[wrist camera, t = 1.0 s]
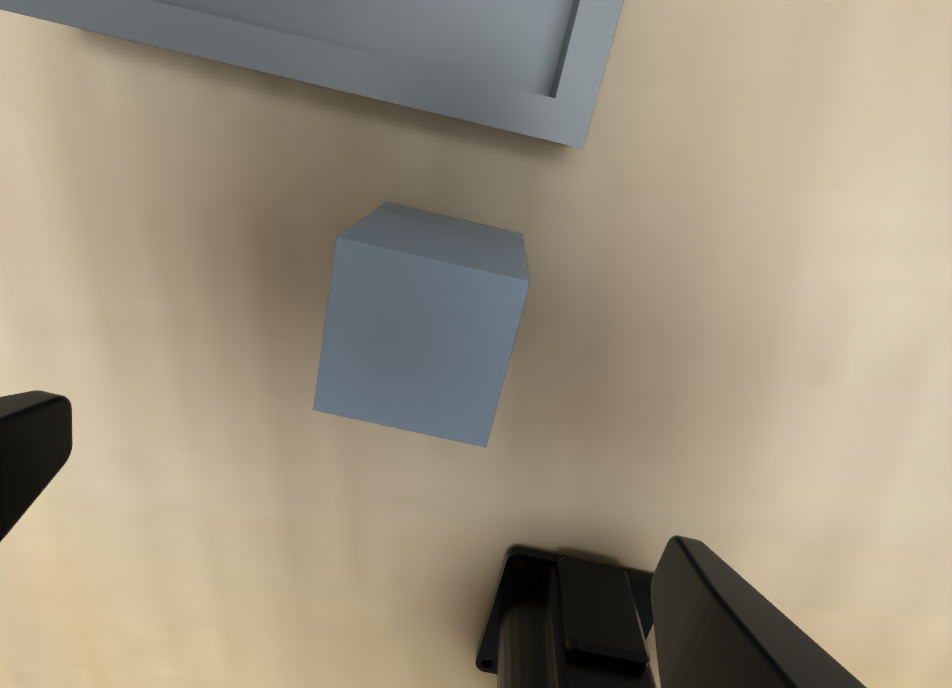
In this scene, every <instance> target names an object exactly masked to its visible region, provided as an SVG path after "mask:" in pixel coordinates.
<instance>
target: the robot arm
mask: <svg viewBox="0 0 952 688" xmlns="http://www.w3.org/2000/svg"><path fill="white" fill-rule="evenodd" d="M71 450H72V407H71V403H70V401H69V399H68V398H66V397H65V396H62V395H58V394H53V393H49V392H44V391H37V390H36V391H30V392H24V393H19V394H14V395H8V396H3V397H0V542H1V541H2V540H3V538H4V537H5V536H6V535H7V534H8V533H9V531H10V530H11V529H12V528H13V527H14V525H15V524H16V523H17V522H18V520H19V519H20V518H21V517H22V516H23V514H24V513H25V512H26V511H27V509H28V508H29V507H30V506H31V505H32V503H33V502H34V501H35V500H36V498H37V497H38V496H39V495H40V494H41V492H42V491H43V490H44V489H45V488H46V486H47V485H48V484H49V483H50V481H51V480H52V479H53V478H54V477H55V475H56V474H57V473H58V472H59V470H60V469H61V468H62V467H63V466H64V464H65V463H66V461H67V460H68V458H69V456H70V453H71ZM516 559H521V560H523V561H522V562H515V561H514V560H516ZM649 589H651V590H649ZM653 623H654V630H655V639H656V649H657V658H658V667H659V677H660V684H661V688H867V687H865V686H864V685H863V684H862V683H861V682H860V681H859V680H858V679H856V678H855V677H854V676H853V675H852V674H851V673H850V672H848V671H847V670H846V669H845V668H844V667H843V666H842V665H841V664H839V663H838V662H837V661H836V660H835V659H834V658H833V657H832V656H830V655H829V654H828V653H827V652H826V651H825V650H824V649H822V648H821V647H820V646H819V645H818V644H817V643H816V642H815V641H813V640H812V639H811V638H810V637H809V636H808V635H807V634H806V633H804V632H803V631H802V630H801V629H800V628H799V627H798V626H796V625H795V624H794V623H793V622H792V621H791V620H790V619H789V618H787V617H786V616H785V615H784V614H783V613H782V612H781V611H780V610H778V609H777V608H776V607H775V606H774V605H773V604H772V603H771V602H769V601H768V600H767V599H766V598H765V597H764V596H763V595H761V594H760V593H759V592H758V591H757V590H756V589H755V588H754V587H752V586H751V585H750V584H749V583H748V582H747V581H746V580H745V579H743V578H742V577H741V576H740V575H739V574H738V573H737V572H736V571H734V570H733V569H732V568H731V567H730V566H729V565H728V564H726V563H725V562H724V561H723V560H722V559H721V558H720V557H719V556H717V555H716V554H715V553H714V552H713V551H712V550H711V549H710V548H708V547H707V546H706V545H705V544H704V543H703V542H701V541H699V540H696V539H692V538H687V537H682V536H678V535H676V536H673V537H671V538H670V540H669V541H668V543H667V545H666V547H665V549H664V552H663V554H662V556H661V558H660V561H659V563H658V565H657V568H656V570H655V572H654V574H653V575H649V574H645V573H640V572H635V571H631V570H626V569H621V568H616V567H612V566H607V565H602V564H598V563H593V562H588V561H583V560H579V559H574V558H569V557H565V556H560V555H555V554H550V553H546V552H541V551H536V550H532V549H527V548H522V547H515V548H512V549H510V550H509V551H508V552H507V554H506V557H505V560H504V563H503V567H502V570H501V573H500V577H499V580H498V583H497V586H496V590H495V593H494V596H493V600H492V603H491V606H490V609H489V613H488V616H487V619H486V623H485V626H484V629H483V632H482V636H481V639H480V642H479V646H478V649H477V652H476V666H477V668H478V669H479V670H481V671H484V672H488V673H493V674H497V688H657V687H656V683H655V679H654V676H653V672H652V668H651V664H650V655H649V652H648V648H647V644H646V638H647V636H648V634H649V632H650V629H651V627H652V625H653ZM485 659H489V660H485Z"/></svg>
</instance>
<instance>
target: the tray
mask: <svg viewBox="0 0 952 688" xmlns="http://www.w3.org/2000/svg"><path fill="white" fill-rule="evenodd" d="M623 1H624V0H0V9H1V10H5V11H10V12H14V13H18V14H22V15H26V16H31V17H35V18H39V19H43V20H47V21H51V22H56V23H60V24H64V25H68V26H72V27H76V28H81V29H85V30H89V31H93V32H97V33H102V34H106V35H110V36H114V37H118V38H122V39H127V40H131V41H135V42H139V43H143V44H148V45H152V46H156V47H160V48H164V49H168V50H173V51H177V52H181V53H185V54H189V55H194V56H198V57H202V58H206V59H210V60H214V61H219V62H223V63H227V64H231V65H235V66H239V67H244V68H248V69H252V70H256V71H260V72H265V73H269V74H273V75H277V76H281V77H285V78H290V79H294V80H298V81H302V82H306V83H311V84H315V85H319V86H323V87H327V88H331V89H336V90H340V91H344V92H348V93H352V94H356V95H361V96H365V97H369V98H373V99H377V100H382V101H386V102H390V103H394V104H398V105H402V106H407V107H411V108H415V109H419V110H423V111H428V112H432V113H436V114H440V115H444V116H448V117H453V118H457V119H461V120H465V121H469V122H473V123H478V124H482V125H486V126H490V127H494V128H499V129H503V130H507V131H511V132H515V133H519V134H524V135H528V136H532V137H536V138H540V139H545V140H549V141H553V142H557V143H561V144H565V145H570V146H574V147H578V148H582V149H583V146H584V142H585V139H586V135H587V131H588V128H589V124H590V120H591V117H592V113H593V110H594V106H595V102H596V99H597V95H598V91H599V88H600V84H601V81H602V77H603V73H604V70H605V66H606V62H607V59H608V55H609V52H610V48H611V44H612V41H613V37H614V33H615V30H616V26H617V23H618V19H619V15H620V12H621V8H622V5H623Z"/></svg>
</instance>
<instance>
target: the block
mask: <svg viewBox="0 0 952 688" xmlns="http://www.w3.org/2000/svg"><path fill="white" fill-rule="evenodd" d="M529 283H530V279H529V272H528V266H527V260H526V254H525V248H524V241H523V235H522V234H521V233H517V232H513V231H508V230H504V229H500V228H495V227H491V226H487V225H482V224H478V223H474V222H470V221H465V220H461V219H457V218H452V217H448V216H444V215H439V214H435V213H431V212H427V211H422V210H418V209H414V208H409V207H405V206H401V205H396V204H392V203H388V202H385V203H384V204H383V205H381V206H380V207H378V208H377V209H376V210H374V211H373V212H371V213H370V214H369V215H367V216H366V217H364V218H363V219H362V220H360V221H359V222H357V223H356V224H354V225H353V226H352V227H350V228H349V229H347V230H346V231H345V232H343V233H342V234H340V235H339V236H338V237H336V245H335V252H334V259H333V267H332V274H331V282H330V289H329V296H328V304H327V311H326V319H325V326H324V333H323V341H322V348H321V356H320V363H319V370H318V378H317V385H316V393H315V400H314V407H313V410H316V411H321V412H325V413H330V414H335V415H339V416H344V417H348V418H353V419H358V420H362V421H367V422H371V423H376V424H381V425H385V426H390V427H394V428H399V429H404V430H408V431H413V432H417V433H422V434H427V435H431V436H436V437H440V438H445V439H450V440H454V441H459V442H463V443H468V444H473V445H477V446H482V447H486V446H487V442H488V438H489V434H490V430H491V427H492V423H493V419H494V415H495V412H496V408H497V404H498V400H499V397H500V393H501V389H502V385H503V381H504V378H505V374H506V370H507V366H508V363H509V359H510V355H511V351H512V348H513V344H514V340H515V336H516V332H517V329H518V325H519V321H520V317H521V314H522V310H523V306H524V302H525V298H526V295H527V291H528V287H529Z"/></svg>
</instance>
